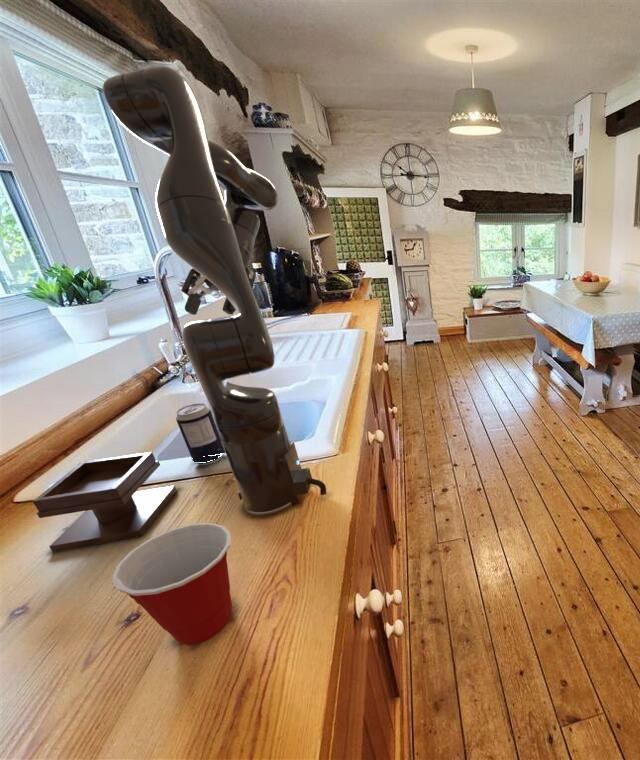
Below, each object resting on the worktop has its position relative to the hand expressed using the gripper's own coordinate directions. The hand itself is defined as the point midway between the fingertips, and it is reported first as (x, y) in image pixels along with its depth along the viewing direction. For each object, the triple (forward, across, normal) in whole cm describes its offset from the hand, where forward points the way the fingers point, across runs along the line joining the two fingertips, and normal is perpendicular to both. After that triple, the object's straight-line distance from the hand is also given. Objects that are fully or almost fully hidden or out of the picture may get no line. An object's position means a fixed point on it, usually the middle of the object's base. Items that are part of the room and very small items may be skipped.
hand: (208, 312), depth 85 cm
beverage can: (+28, 0, +12) cm, 31 cm away
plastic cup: (+53, +28, -12) cm, 61 cm away
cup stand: (+41, -2, -1) cm, 41 cm away
